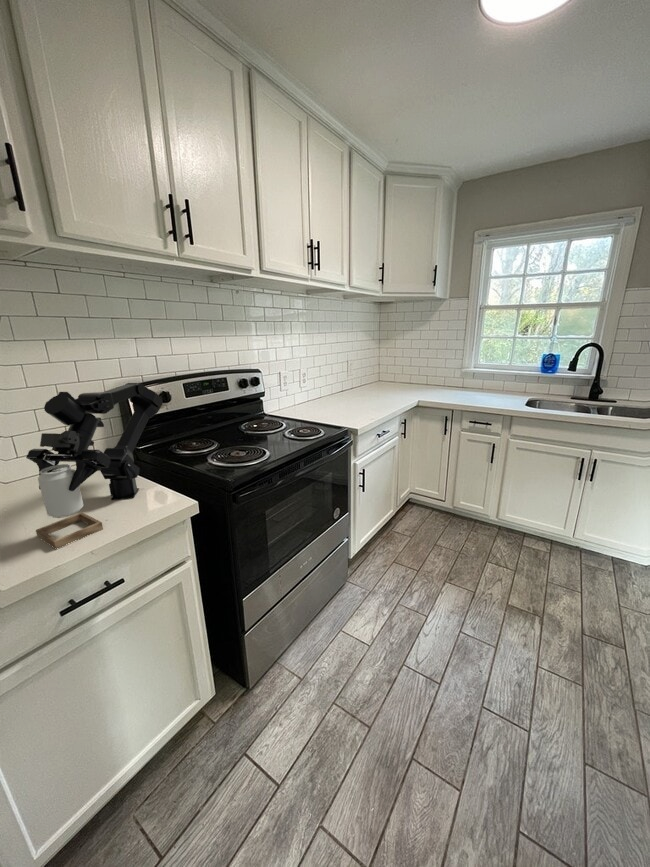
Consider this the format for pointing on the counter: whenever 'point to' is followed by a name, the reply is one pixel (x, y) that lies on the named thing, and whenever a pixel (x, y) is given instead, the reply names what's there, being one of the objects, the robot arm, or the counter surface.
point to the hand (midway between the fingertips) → (56, 490)
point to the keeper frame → (56, 543)
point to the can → (59, 491)
